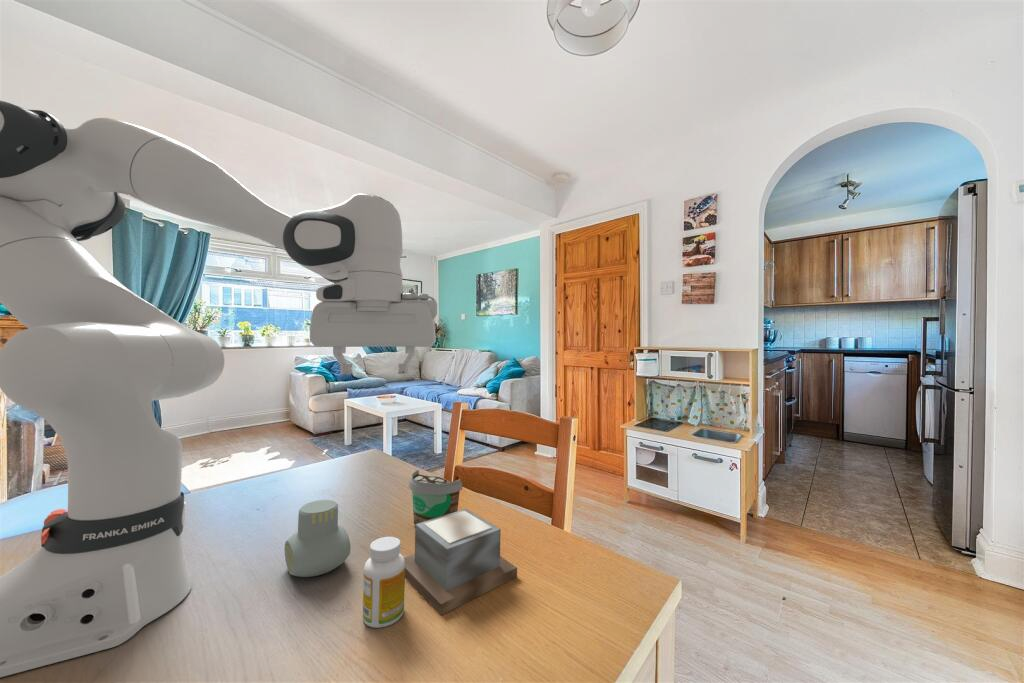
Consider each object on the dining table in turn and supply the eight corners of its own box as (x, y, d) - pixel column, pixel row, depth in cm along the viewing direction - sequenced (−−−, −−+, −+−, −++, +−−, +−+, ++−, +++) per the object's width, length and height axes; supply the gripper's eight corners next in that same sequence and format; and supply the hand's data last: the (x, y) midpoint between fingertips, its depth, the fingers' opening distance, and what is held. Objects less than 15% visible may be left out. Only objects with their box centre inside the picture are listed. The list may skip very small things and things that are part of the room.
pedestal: (440, 615, 52) (442, 558, 52) (397, 569, 63) (398, 522, 63) (517, 576, 61) (518, 528, 61) (468, 542, 72) (468, 501, 72)
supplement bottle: (409, 603, 54) (411, 535, 54) (394, 631, 49) (396, 555, 49) (373, 600, 55) (375, 532, 55) (354, 627, 49) (356, 552, 50)
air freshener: (353, 572, 61) (355, 510, 62) (296, 593, 56) (298, 525, 56) (333, 545, 70) (335, 490, 70) (281, 561, 64) (283, 502, 64)
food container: (394, 526, 77) (395, 477, 78) (415, 515, 83) (416, 469, 83) (442, 542, 72) (444, 488, 72) (461, 528, 77) (462, 479, 77)
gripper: (438, 296, 69) (438, 372, 69) (321, 294, 67) (320, 372, 67) (435, 291, 63) (435, 374, 63) (305, 289, 61) (305, 375, 61)
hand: (375, 373), depth 65 cm, fingers open, 8 cm apart
